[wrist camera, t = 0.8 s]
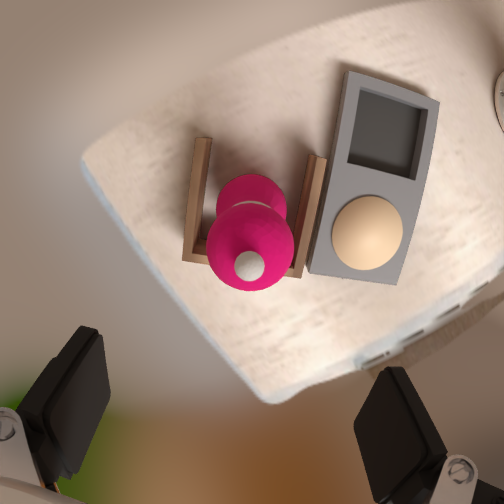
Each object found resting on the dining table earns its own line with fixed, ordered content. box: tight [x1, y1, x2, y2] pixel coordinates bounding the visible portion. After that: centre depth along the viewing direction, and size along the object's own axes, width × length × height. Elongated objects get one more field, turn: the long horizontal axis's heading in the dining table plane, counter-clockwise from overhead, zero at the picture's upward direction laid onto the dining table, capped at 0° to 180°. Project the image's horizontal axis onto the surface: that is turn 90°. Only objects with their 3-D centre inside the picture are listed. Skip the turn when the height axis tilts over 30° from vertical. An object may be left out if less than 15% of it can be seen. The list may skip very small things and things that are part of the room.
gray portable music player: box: [306, 70, 440, 285], centre depth 35 cm, size 12×24×2 cm, turn 171°
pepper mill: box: [206, 174, 294, 291], centre depth 27 cm, size 7×7×20 cm
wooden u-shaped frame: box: [182, 138, 327, 278], centre depth 34 cm, size 13×13×5 cm
